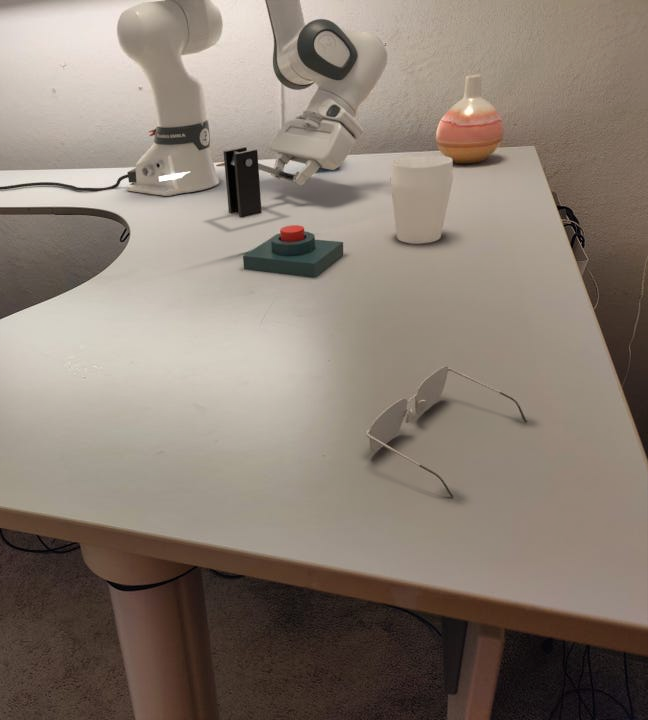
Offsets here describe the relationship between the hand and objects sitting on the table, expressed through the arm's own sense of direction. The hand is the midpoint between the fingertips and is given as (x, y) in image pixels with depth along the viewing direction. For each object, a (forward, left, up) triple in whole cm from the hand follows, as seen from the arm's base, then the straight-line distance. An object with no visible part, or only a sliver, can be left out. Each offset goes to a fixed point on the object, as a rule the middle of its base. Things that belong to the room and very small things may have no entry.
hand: (285, 180), depth 127 cm
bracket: (-5, -8, -6) cm, 11 cm away
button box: (+15, -27, -6) cm, 32 cm away
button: (+15, -27, -2) cm, 31 cm away
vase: (+22, +43, -6) cm, 49 cm away
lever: (-3, -4, +2) cm, 6 cm away
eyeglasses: (+49, -64, -6) cm, 81 cm away
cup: (+29, -11, -6) cm, 32 cm away
